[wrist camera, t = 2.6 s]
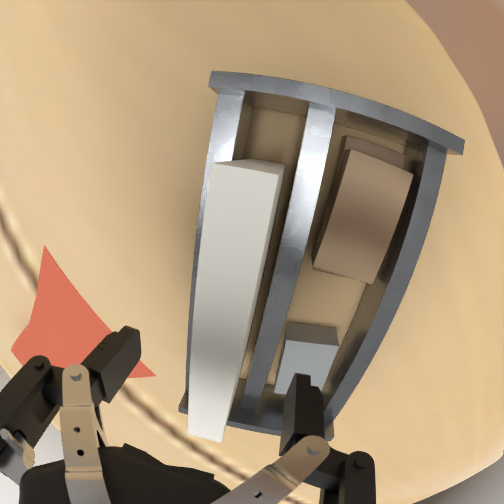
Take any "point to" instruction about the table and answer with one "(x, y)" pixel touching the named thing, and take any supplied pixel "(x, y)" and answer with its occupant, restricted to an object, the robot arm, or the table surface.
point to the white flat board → (228, 284)
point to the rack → (299, 223)
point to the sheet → (62, 323)
